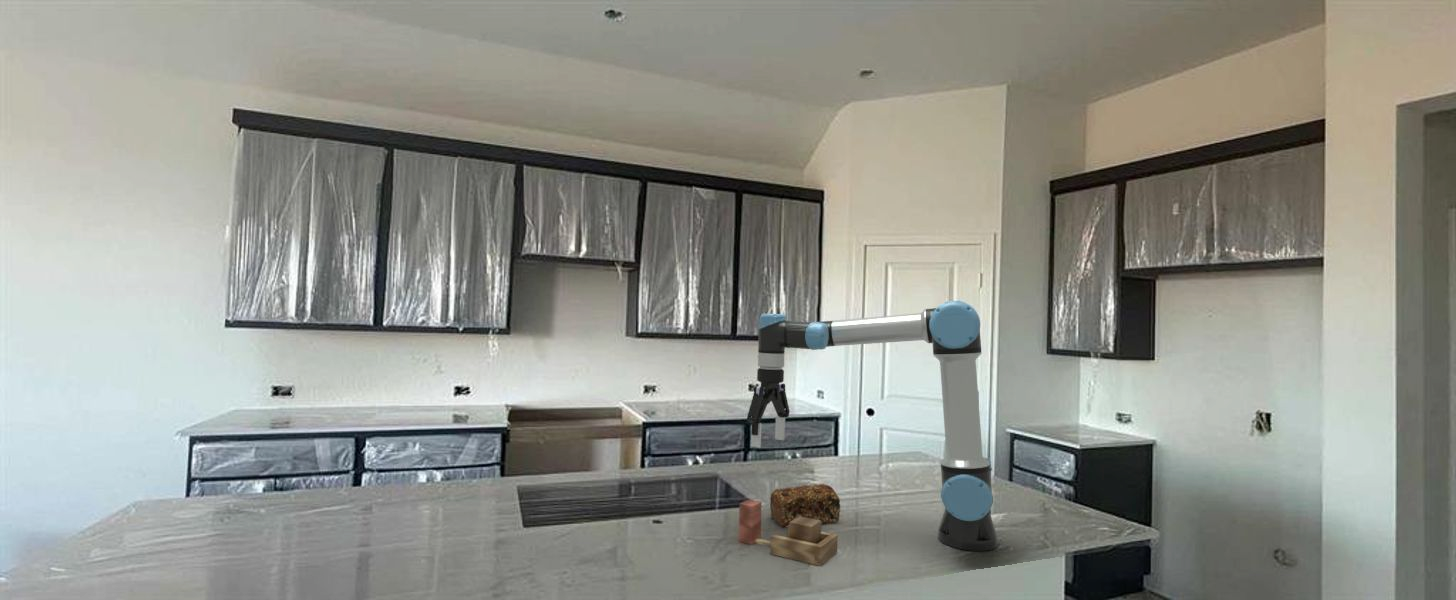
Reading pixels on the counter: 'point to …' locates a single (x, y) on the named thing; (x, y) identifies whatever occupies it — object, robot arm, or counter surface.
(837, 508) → the bread
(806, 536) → the tethered block
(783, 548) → the frame
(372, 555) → the counter surface
